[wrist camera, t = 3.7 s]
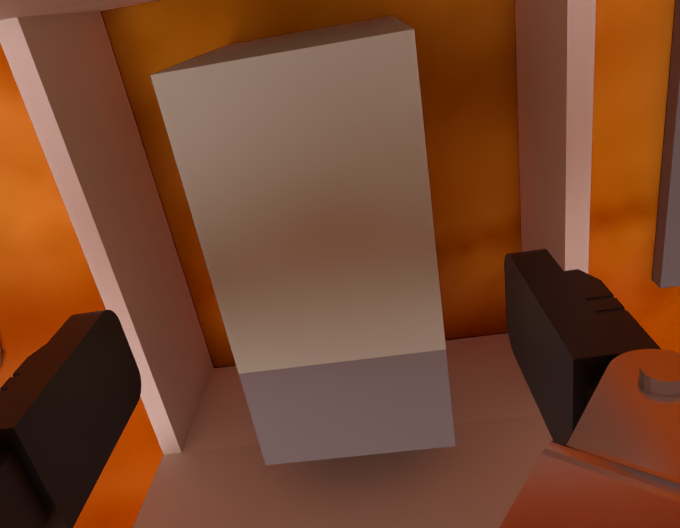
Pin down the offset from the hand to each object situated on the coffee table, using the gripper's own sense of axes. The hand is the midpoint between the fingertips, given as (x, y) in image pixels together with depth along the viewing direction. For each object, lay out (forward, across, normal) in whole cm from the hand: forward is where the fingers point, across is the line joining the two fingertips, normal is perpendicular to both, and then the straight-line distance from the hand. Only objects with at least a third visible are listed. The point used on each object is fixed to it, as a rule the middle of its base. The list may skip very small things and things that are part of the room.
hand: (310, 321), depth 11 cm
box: (+8, 0, 0) cm, 8 cm away
